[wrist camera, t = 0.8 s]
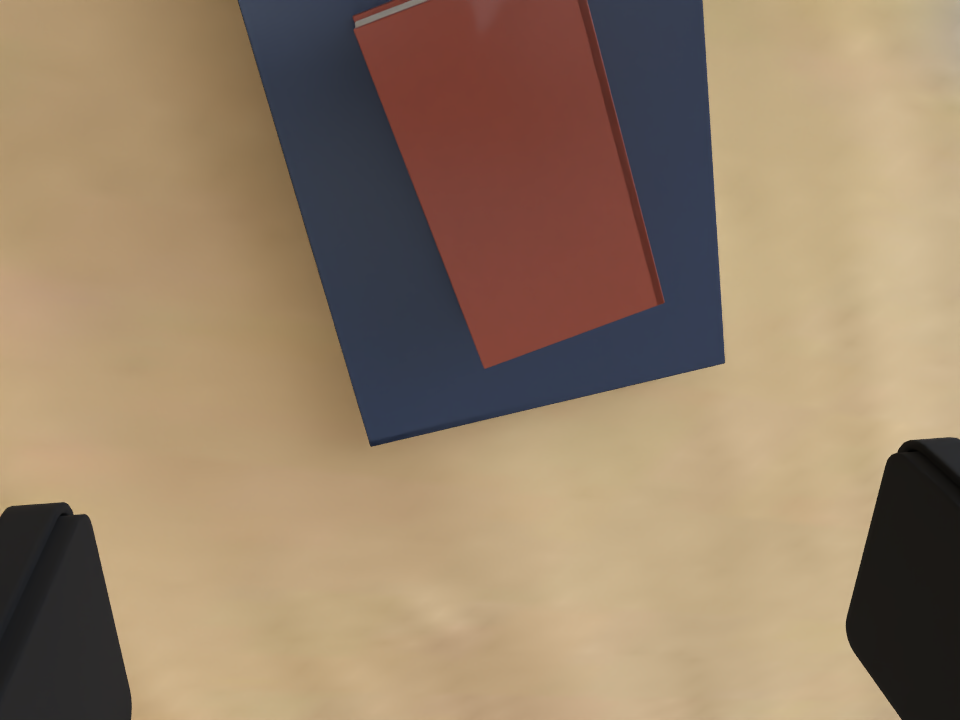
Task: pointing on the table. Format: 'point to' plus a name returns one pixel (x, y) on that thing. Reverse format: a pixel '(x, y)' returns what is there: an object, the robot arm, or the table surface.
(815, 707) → the table surface
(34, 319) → the table surface
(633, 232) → the pocket book
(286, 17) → the hardcover book
